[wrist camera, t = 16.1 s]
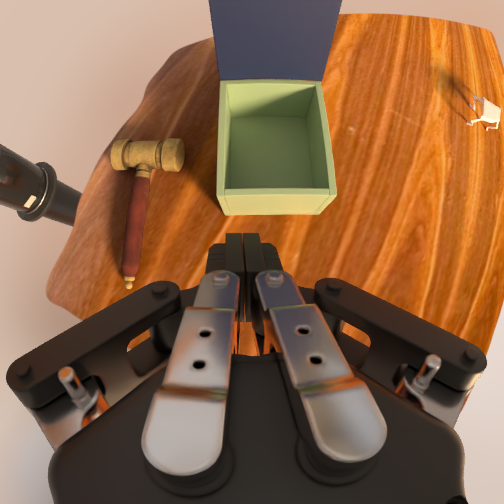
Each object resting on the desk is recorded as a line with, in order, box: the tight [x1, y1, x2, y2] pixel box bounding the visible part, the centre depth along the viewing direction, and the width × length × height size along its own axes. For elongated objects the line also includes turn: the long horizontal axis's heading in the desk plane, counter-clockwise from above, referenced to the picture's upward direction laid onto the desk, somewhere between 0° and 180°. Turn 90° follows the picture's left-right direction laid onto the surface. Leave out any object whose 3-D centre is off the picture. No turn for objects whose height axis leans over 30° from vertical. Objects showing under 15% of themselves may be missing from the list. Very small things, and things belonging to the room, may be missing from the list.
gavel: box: [110, 139, 185, 289], centre depth 36 cm, size 21×5×10 cm
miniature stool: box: [467, 95, 501, 130], centre depth 37 cm, size 12×8×5 cm
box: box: [216, 79, 337, 215], centre depth 34 cm, size 16×13×9 cm
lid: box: [209, 0, 342, 81], centre depth 22 cm, size 17×13×1 cm
